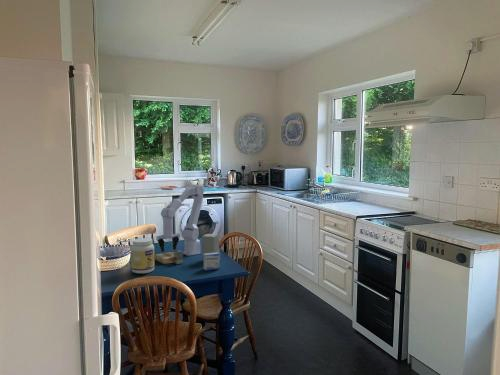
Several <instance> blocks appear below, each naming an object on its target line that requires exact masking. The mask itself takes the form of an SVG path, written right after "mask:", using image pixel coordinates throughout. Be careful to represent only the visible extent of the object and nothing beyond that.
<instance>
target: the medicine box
mask: <svg viewBox="0 0 500 375" xmlns="http://www.w3.org/2000/svg"><path fill="white" fill-rule="evenodd" d="M203 255H204V261H203V269H204V270H205V271H213V270H220V260H219V253H217V252H214V253H204V254H203V253H202V256H203Z"/></svg>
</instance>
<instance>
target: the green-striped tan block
mask: <svg viewBox="0 0 500 375" xmlns="http://www.w3.org/2000/svg"><path fill="white" fill-rule="evenodd" d="M154 261H157V262H159V263H160V264H163V265H166V264H171V263H174V251H170V252H169V251H168V252H162V253H156V254H154Z"/></svg>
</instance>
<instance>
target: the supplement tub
mask: <svg viewBox="0 0 500 375" xmlns="http://www.w3.org/2000/svg"><path fill="white" fill-rule="evenodd" d="M131 244H132V245H131V247H130V254H131V255H130V260H131V263H130V264H131V271H132V273H135V274H148V273H151V272H153V271H154V270H155V267H156V266H155V265H156V264H155V263H156V262H155V246H154V241H153V238H151V237H141V238H135V239H132V242H131Z"/></svg>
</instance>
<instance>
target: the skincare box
mask: <svg viewBox="0 0 500 375" xmlns="http://www.w3.org/2000/svg"><path fill="white" fill-rule="evenodd" d="M219 238H220V236H219V234H218V233H217V234H214V233H206V234H203V235H201V245H202V260H203V262H204V255H203V254H204V253H214V252H217V253H219V261H221V255H220V254H221V253H220V250H221V249H220V239H219Z"/></svg>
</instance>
